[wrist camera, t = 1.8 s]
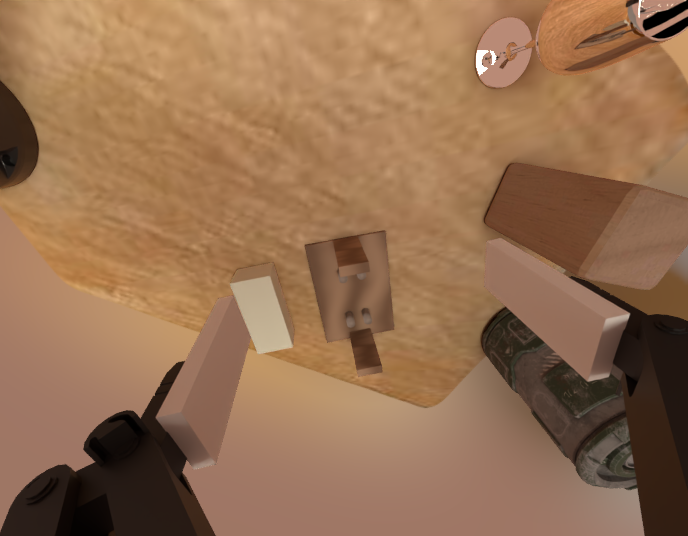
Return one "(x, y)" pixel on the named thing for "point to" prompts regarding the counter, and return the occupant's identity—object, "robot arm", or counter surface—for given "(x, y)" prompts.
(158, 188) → the counter surface
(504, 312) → the canister
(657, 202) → the block
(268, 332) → the cream rectangular block
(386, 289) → the peg frame
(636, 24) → the wineglass
